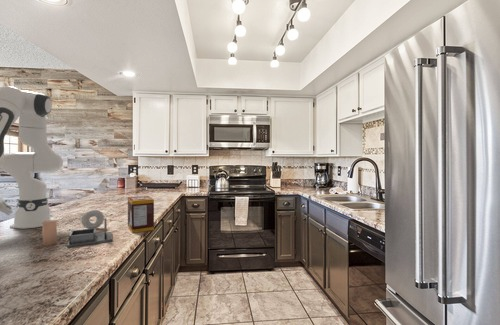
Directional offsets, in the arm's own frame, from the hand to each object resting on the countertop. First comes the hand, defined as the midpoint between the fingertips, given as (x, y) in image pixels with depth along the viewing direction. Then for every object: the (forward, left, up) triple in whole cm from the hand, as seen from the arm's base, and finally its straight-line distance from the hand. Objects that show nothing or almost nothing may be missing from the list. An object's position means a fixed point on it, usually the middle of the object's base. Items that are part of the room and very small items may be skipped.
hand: (10, 211), depth 101 cm
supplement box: (-12, +48, -16) cm, 52 cm away
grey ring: (-21, +27, -16) cm, 37 cm away
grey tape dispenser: (-1, +27, -15) cm, 31 cm away
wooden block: (-3, +12, -15) cm, 20 cm away
